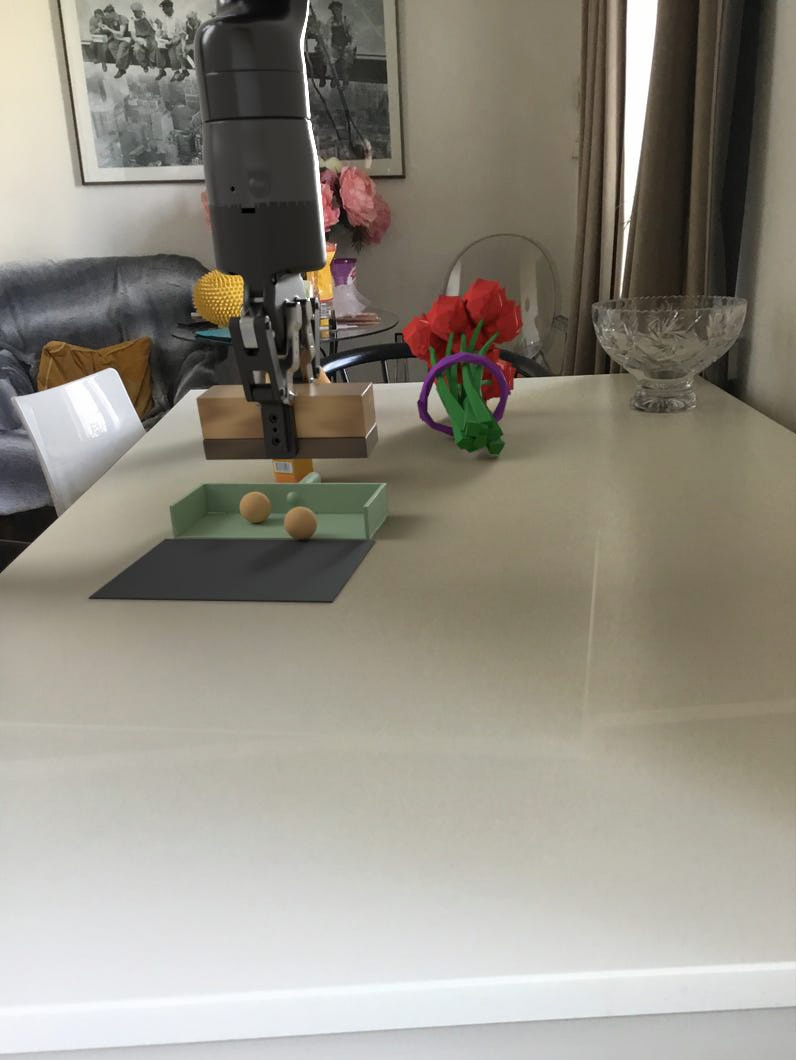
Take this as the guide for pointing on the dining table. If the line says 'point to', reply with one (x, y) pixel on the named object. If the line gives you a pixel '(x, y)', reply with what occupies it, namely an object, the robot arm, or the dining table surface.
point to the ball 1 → (255, 507)
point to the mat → (239, 571)
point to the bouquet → (467, 361)
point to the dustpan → (281, 510)
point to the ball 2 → (300, 523)
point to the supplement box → (291, 470)
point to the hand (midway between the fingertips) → (292, 449)
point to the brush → (320, 413)
